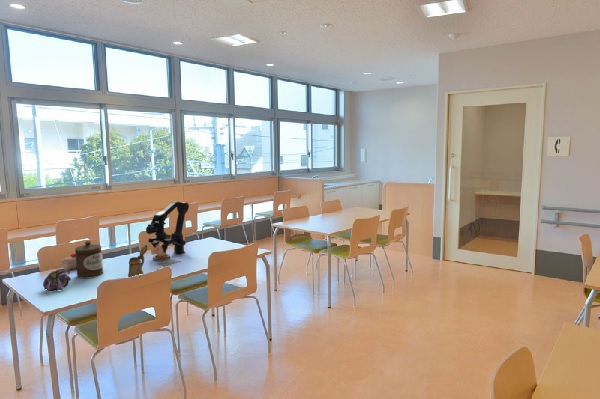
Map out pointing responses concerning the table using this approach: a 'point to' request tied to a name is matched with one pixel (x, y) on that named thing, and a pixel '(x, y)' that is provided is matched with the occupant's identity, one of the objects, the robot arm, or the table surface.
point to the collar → (161, 258)
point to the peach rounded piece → (158, 251)
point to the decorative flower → (57, 280)
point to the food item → (69, 262)
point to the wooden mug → (137, 263)
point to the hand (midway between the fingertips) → (161, 252)
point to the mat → (168, 262)
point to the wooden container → (89, 260)
